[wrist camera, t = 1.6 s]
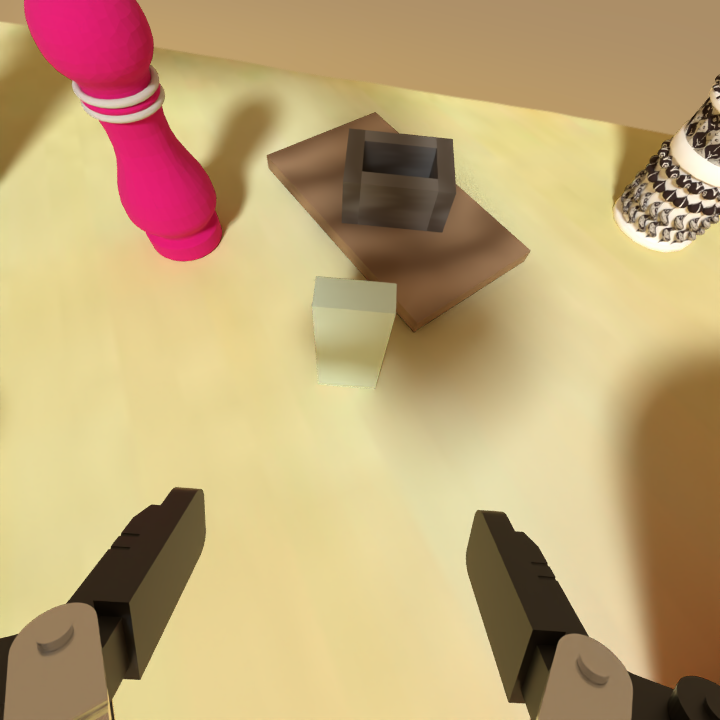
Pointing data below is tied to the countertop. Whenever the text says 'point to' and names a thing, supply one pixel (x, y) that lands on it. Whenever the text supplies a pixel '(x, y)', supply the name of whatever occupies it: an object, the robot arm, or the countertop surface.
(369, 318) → the slat
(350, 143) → the brown piece
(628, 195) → the decorative candle
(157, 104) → the pepper mill
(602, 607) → the countertop surface
